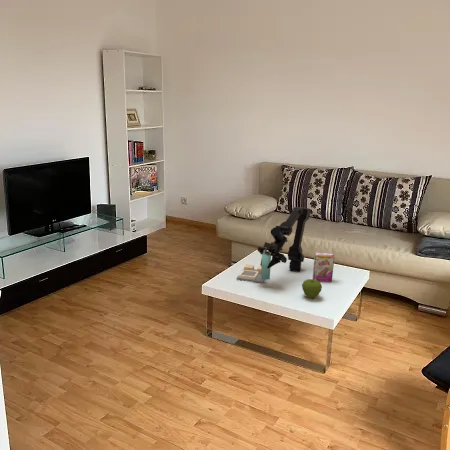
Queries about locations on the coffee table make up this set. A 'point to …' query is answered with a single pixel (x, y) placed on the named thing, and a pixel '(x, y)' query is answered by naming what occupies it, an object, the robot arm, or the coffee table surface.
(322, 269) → the candy bar box
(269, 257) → the teal column
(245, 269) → the base board
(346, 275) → the coffee table surface
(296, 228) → the robot arm
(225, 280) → the coffee table surface
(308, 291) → the apple
